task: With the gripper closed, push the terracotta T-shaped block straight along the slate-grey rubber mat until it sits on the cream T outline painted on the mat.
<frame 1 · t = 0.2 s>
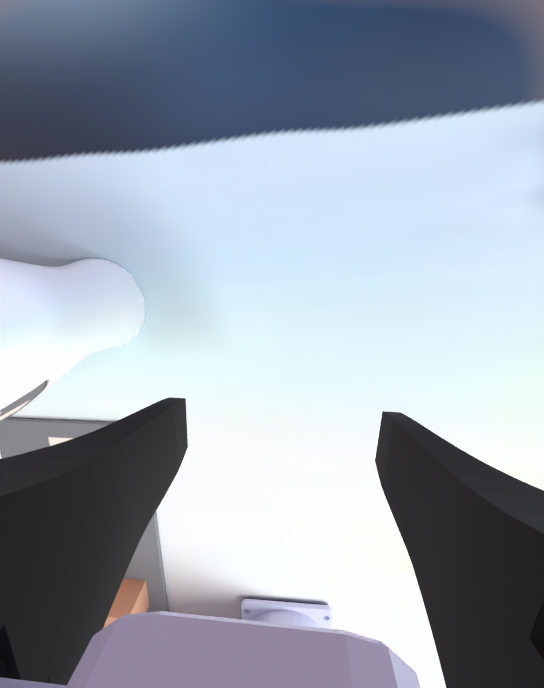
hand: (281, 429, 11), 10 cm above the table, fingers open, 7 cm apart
t block: (99, 588, 28), resting on t mat
beer glass: (104, 304, 21), on the table
t mat: (90, 523, 26), on the table
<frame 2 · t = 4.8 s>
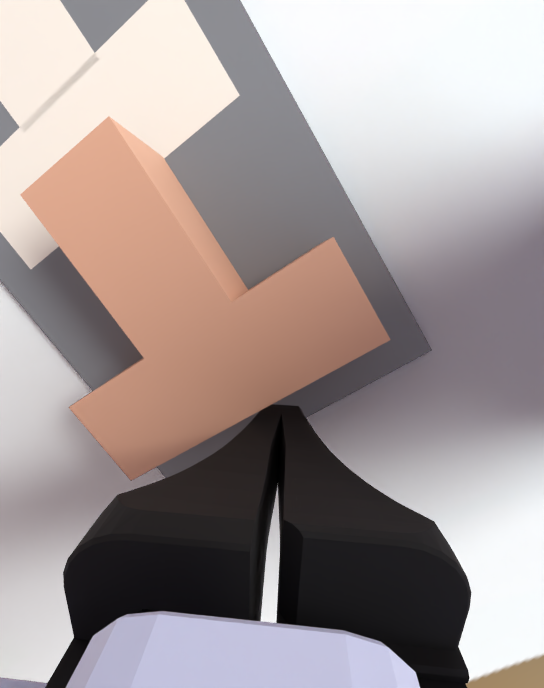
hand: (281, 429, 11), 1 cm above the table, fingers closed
t block: (237, 345, 11), resting on t mat, touching gripper
t mat: (137, 201, 11), on the table
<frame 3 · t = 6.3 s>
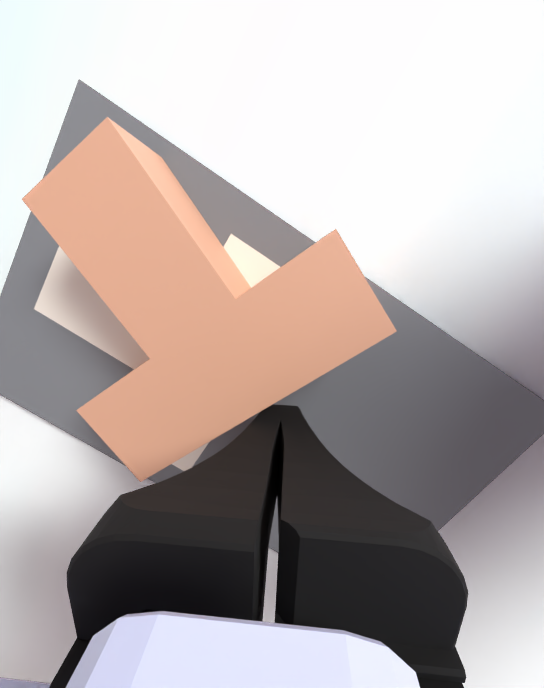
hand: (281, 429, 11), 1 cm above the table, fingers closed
t block: (241, 344, 11), resting on t mat, touching gripper
t mat: (252, 390, 12), on the table
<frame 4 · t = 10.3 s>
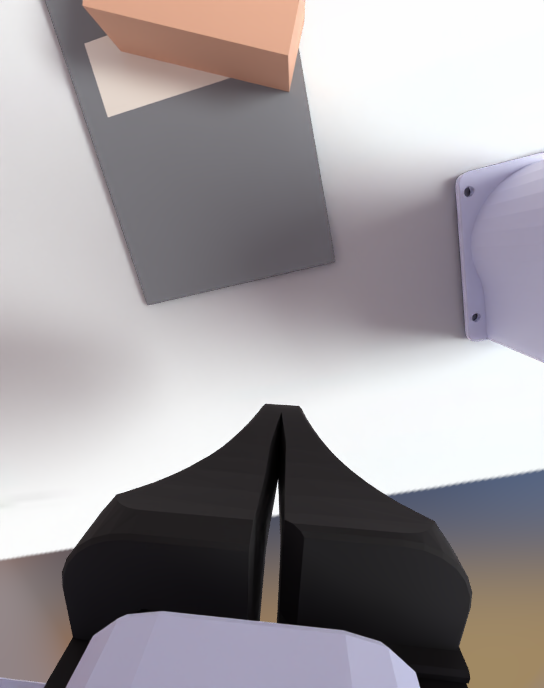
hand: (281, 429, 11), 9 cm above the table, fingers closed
t block: (209, 36, 15), resting on t mat
t mat: (192, 101, 17), on the table
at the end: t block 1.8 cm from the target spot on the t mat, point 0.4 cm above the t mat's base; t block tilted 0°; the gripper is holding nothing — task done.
